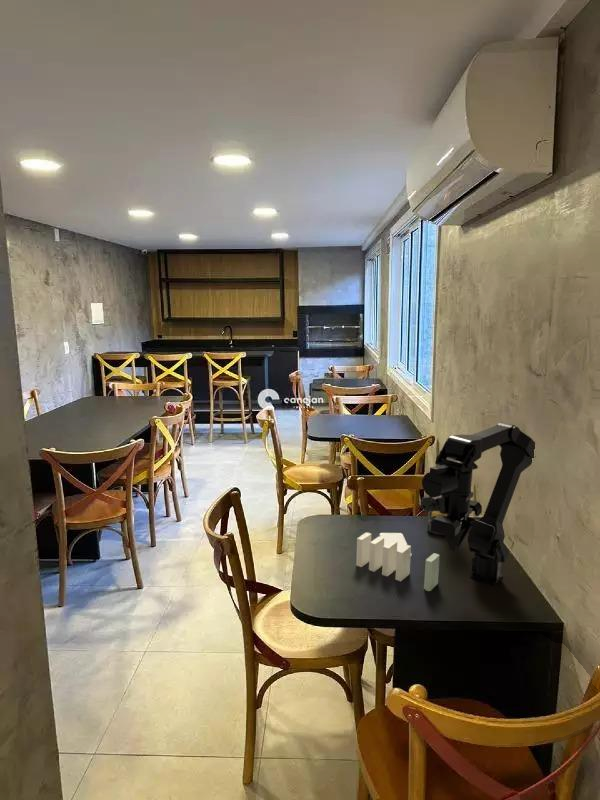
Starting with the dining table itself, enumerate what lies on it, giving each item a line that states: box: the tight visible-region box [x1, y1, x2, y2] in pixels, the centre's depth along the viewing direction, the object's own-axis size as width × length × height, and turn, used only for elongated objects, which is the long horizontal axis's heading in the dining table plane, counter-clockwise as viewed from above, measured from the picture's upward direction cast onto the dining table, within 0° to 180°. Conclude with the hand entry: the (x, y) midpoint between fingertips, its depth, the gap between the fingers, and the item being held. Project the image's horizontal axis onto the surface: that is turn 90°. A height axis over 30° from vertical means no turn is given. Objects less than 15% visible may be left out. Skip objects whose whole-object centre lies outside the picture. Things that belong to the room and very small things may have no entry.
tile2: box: [394, 544, 412, 582], centre depth 140 cm, size 2×5×8 cm, turn 142°
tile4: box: [368, 535, 384, 573], centre depth 145 cm, size 2×5×8 cm, turn 142°
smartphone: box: [379, 532, 413, 558], centre depth 160 cm, size 7×1×15 cm
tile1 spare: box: [423, 552, 440, 592], centre depth 136 cm, size 2×5×8 cm, turn 142°
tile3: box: [381, 540, 397, 577], centre depth 143 cm, size 2×5×8 cm, turn 142°
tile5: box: [355, 531, 373, 568], centre depth 148 cm, size 2×5×8 cm, turn 142°
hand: (454, 548), depth 131 cm, fingers open, 3 cm apart
